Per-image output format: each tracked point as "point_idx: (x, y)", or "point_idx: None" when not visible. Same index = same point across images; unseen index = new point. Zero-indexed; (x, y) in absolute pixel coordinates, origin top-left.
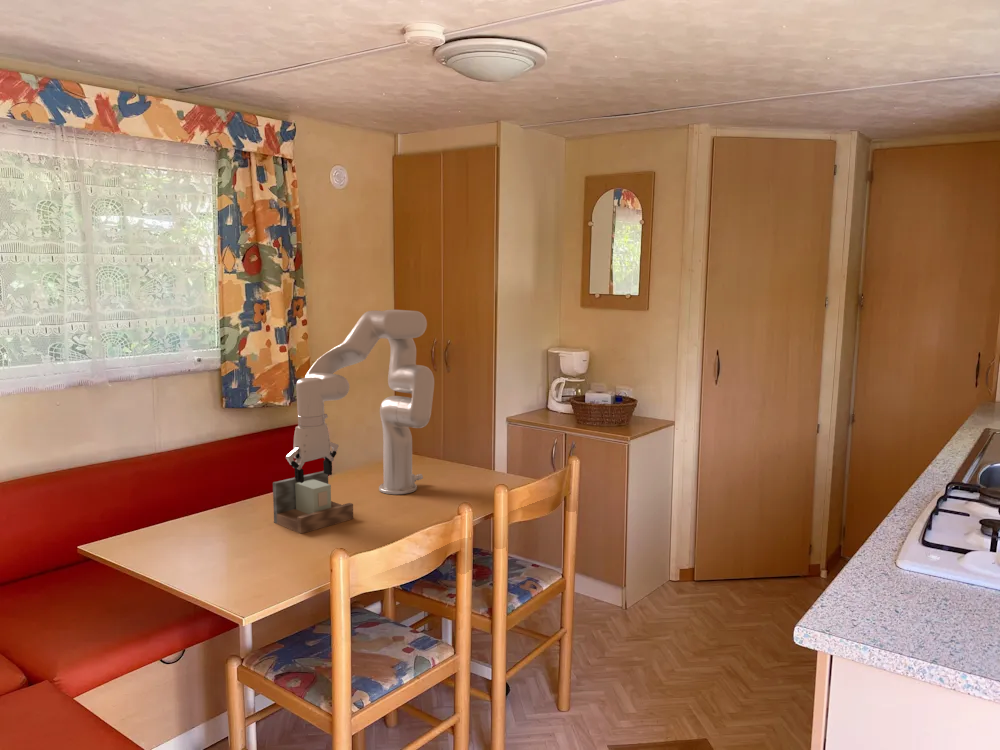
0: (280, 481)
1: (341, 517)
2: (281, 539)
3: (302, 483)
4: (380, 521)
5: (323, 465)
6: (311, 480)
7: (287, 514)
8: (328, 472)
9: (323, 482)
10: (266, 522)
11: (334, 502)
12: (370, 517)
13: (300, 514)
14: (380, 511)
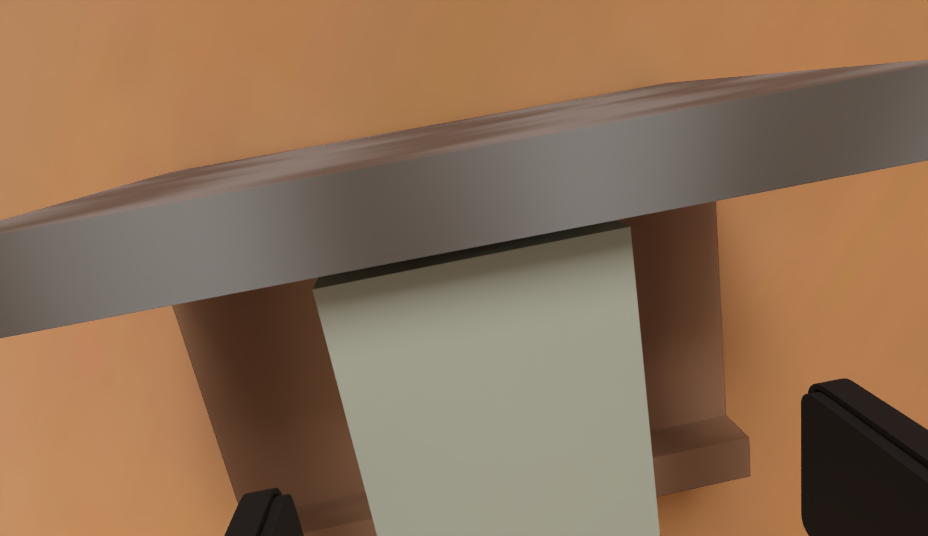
0: (25, 280)
1: None
2: (126, 514)
3: (397, 374)
4: (785, 523)
5: (912, 473)
6: (575, 299)
7: (232, 307)
8: (827, 525)
9: (652, 478)
10: (119, 113)
11: (712, 226)
12: (789, 432)
13: (330, 367)
14: (909, 361)
